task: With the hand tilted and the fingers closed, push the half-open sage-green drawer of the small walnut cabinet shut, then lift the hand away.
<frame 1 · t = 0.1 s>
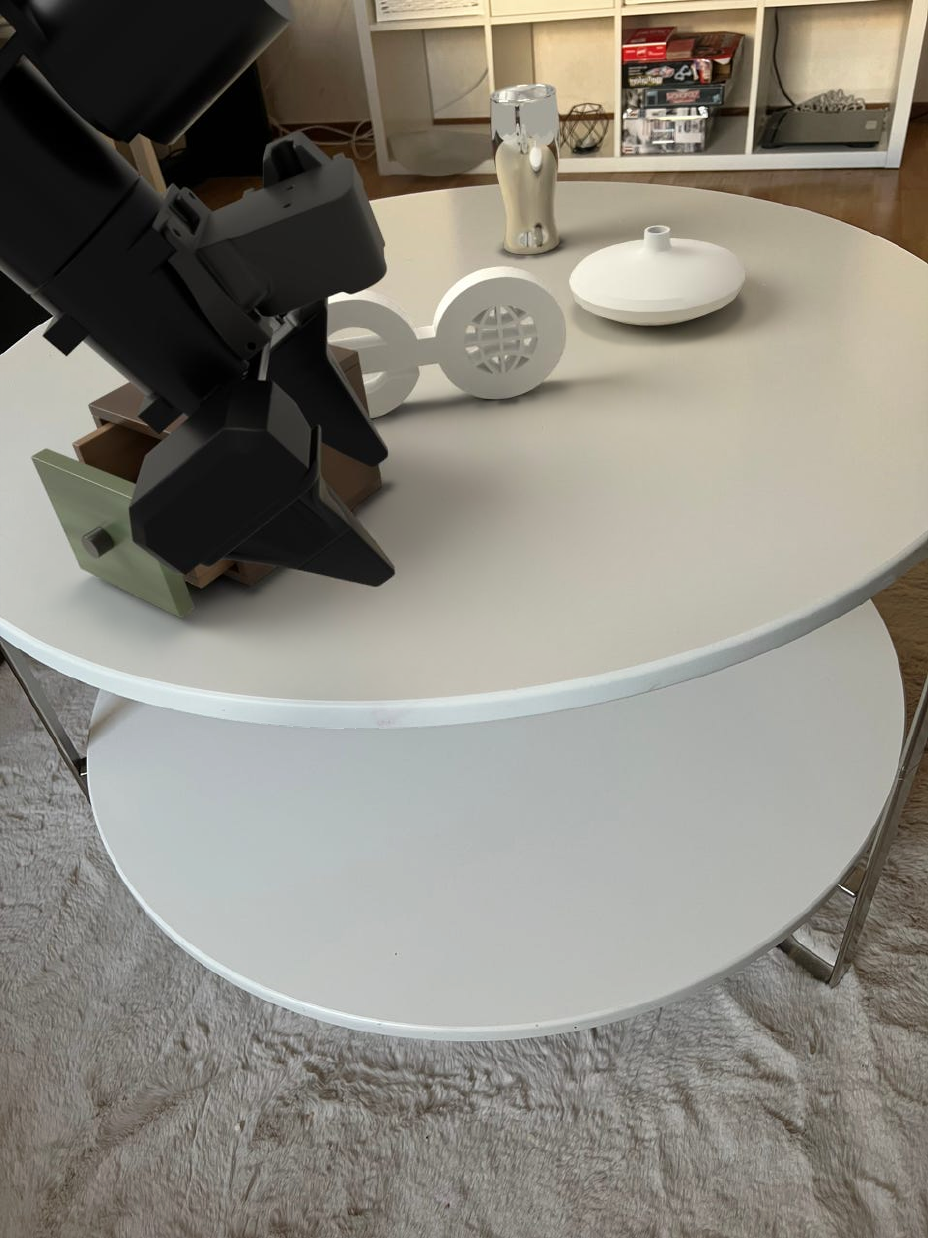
hand: (384, 514, 42), 15 cm above the table, tool tilted 35°, fingers open, 9 cm apart
vase: (655, 308, 91), on the table
drawer: (174, 492, 64), point 5 cm above the table, slide at 4.0 cm
white flat cutout piece: (434, 404, 81), on the table
cabinet: (262, 511, 71), on the table
beer glass: (531, 246, 106), on the table
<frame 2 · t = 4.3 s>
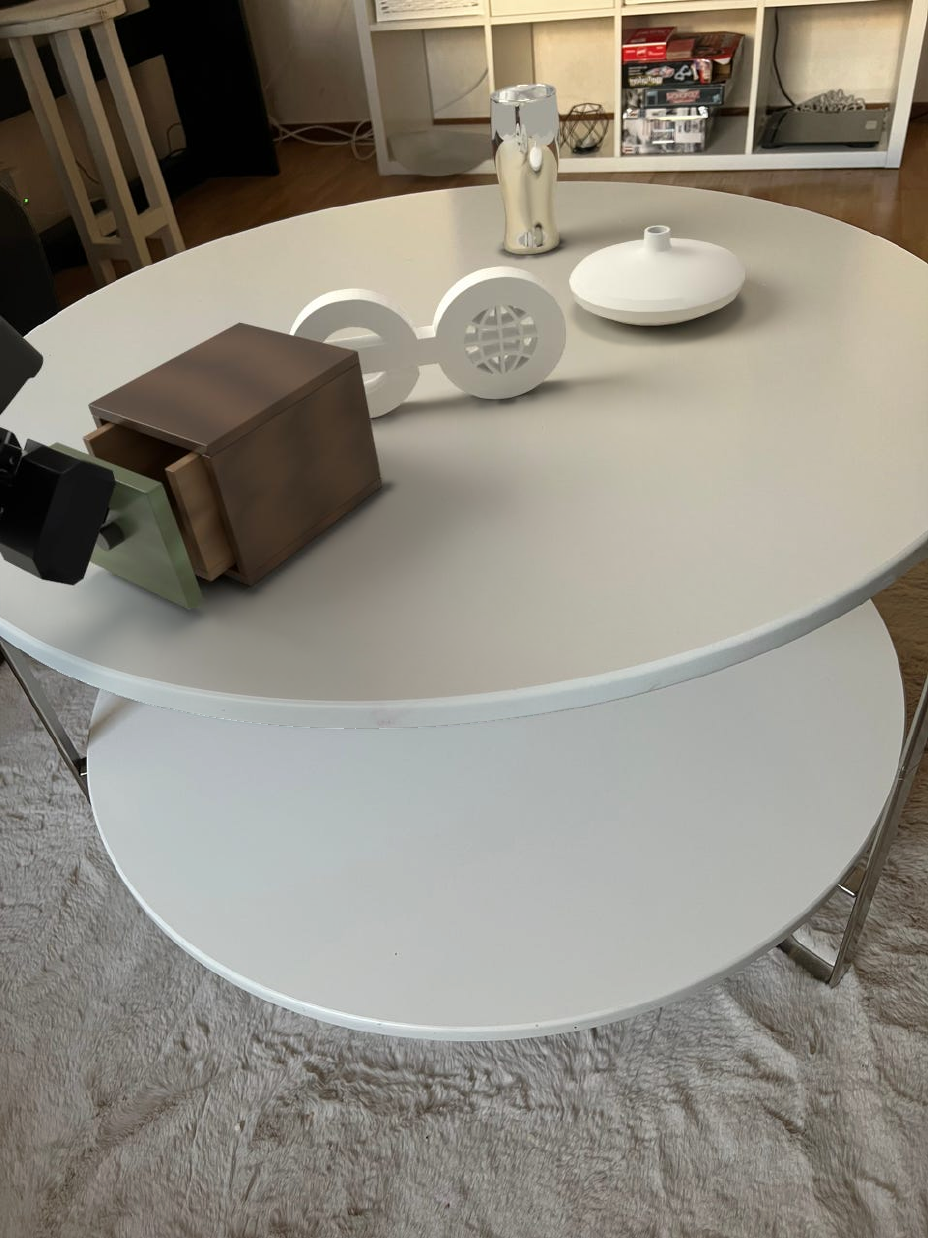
hand: (104, 514, 60), 7 cm above the table, tool tilted 45°, fingers closed, pressing on drawer
drawer: (184, 486, 64), point 5 cm above the table, slide at 3.2 cm, touching gripper
everything else where it was.
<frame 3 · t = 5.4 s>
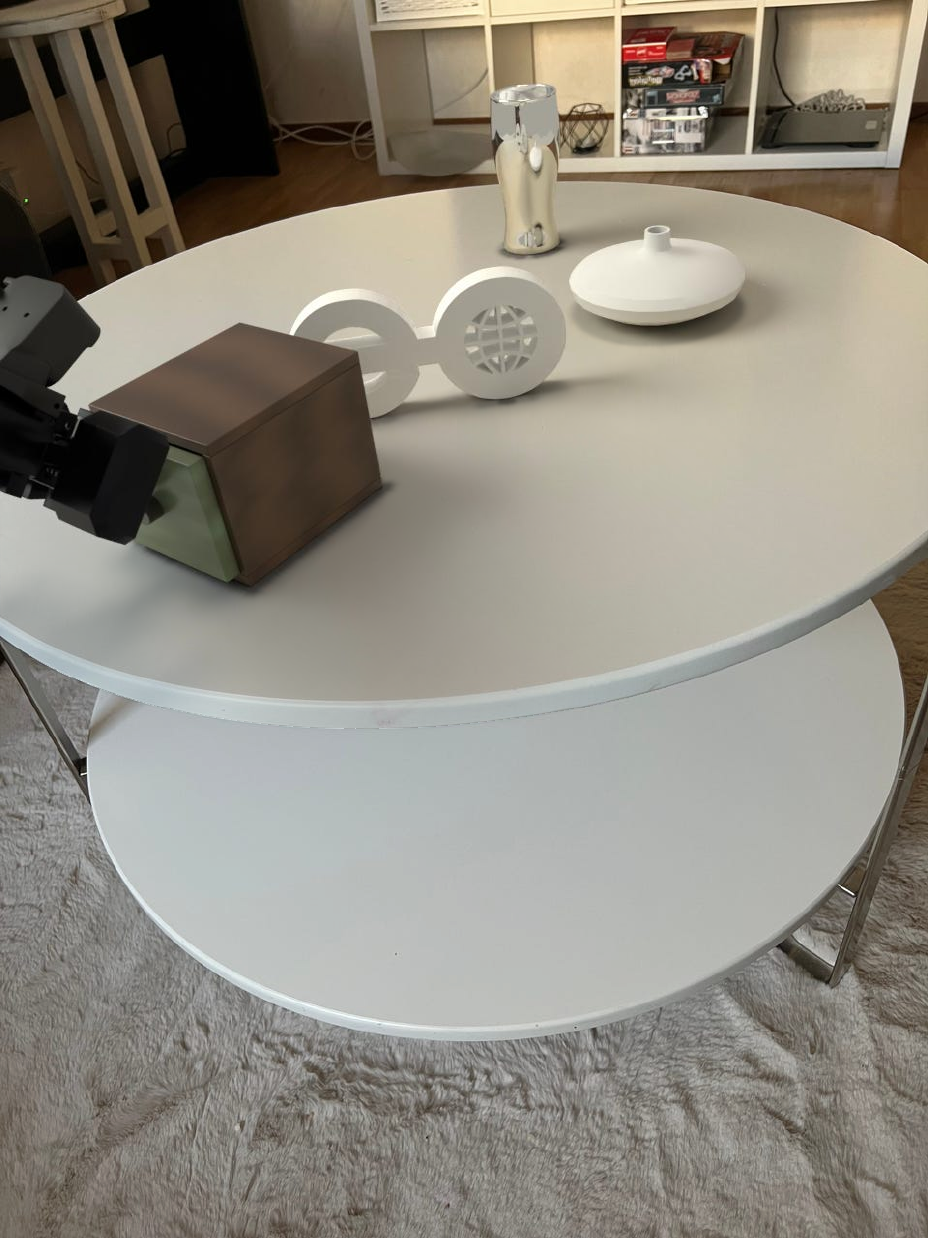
hand: (145, 488, 62), 7 cm above the table, tool tilted 45°, fingers closed, pressing on drawer
drawer: (219, 463, 66), point 5 cm above the table, slide at 0.0 cm, touching cabinet, gripper
everything else where it was.
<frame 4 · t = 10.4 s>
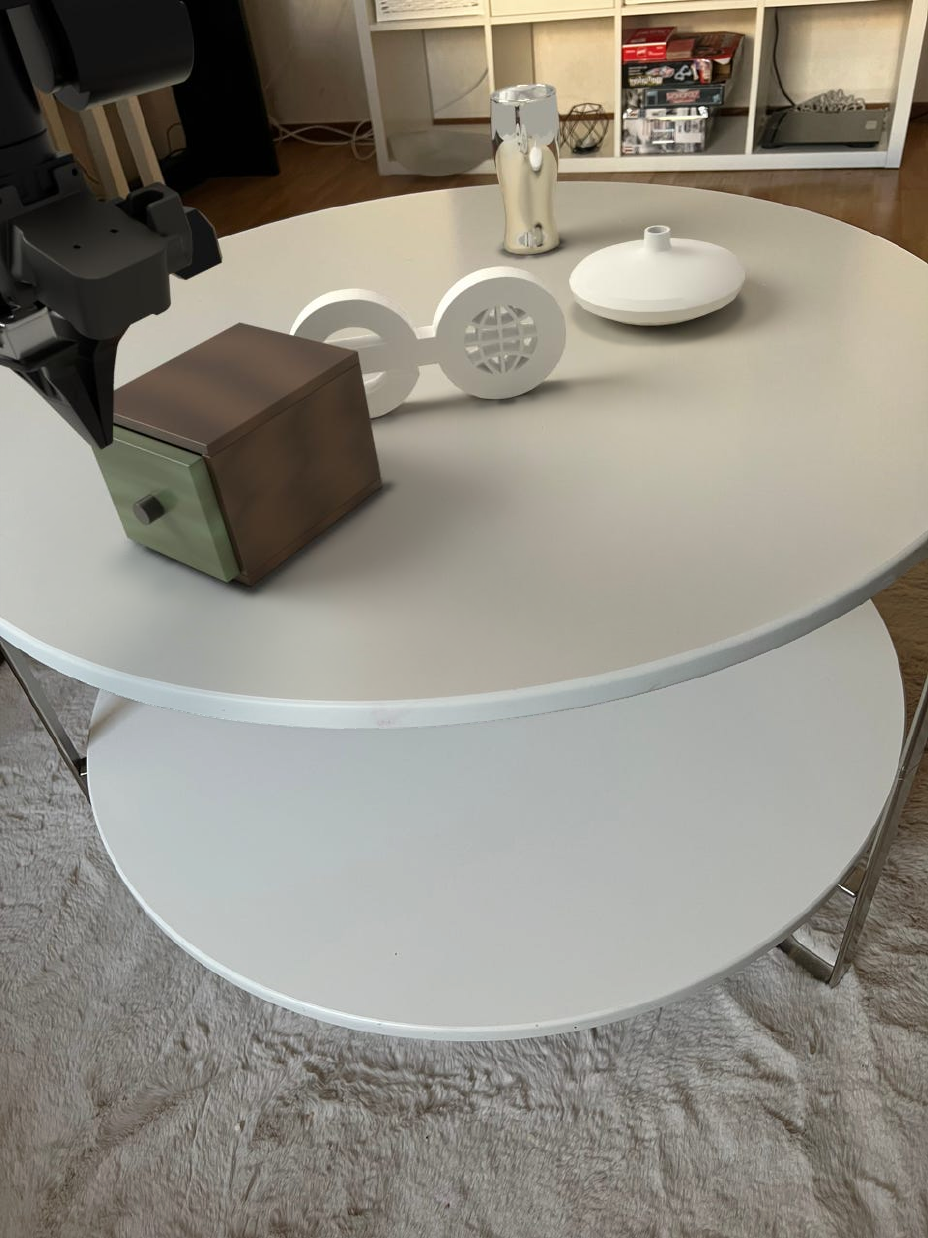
hand: (102, 445, 54), 13 cm above the table, tool pointing down, fingers closed
drawer: (219, 463, 66), point 5 cm above the table, slide at 0.0 cm, touching cabinet
everything else where it was.
at the end: drawer slide at 0.0 cm; beer glass moved 0.2 cm from its start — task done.
